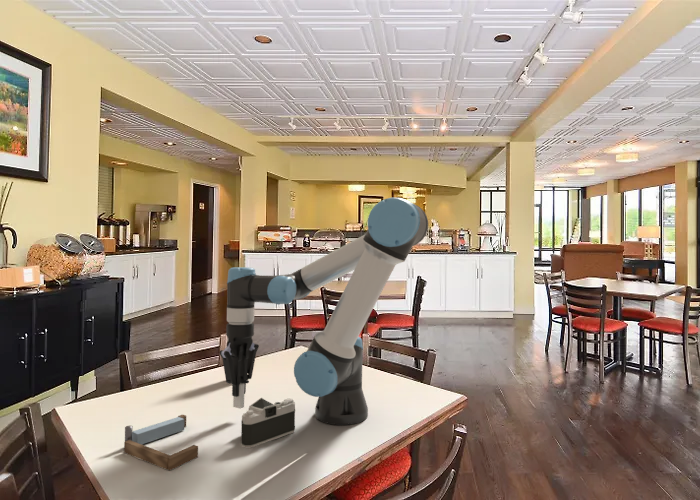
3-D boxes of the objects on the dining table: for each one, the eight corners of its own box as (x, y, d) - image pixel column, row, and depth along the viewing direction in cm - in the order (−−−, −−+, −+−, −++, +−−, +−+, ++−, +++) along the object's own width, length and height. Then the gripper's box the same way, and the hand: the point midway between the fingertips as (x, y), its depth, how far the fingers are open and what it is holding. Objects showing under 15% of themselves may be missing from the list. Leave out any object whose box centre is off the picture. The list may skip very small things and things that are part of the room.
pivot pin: (133, 447, 106) (133, 426, 106) (127, 450, 105) (127, 428, 105) (129, 445, 107) (129, 425, 107) (123, 448, 106) (123, 427, 106)
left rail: (197, 457, 102) (198, 446, 102) (169, 470, 95) (170, 458, 95) (193, 455, 102) (193, 444, 102) (165, 468, 96) (165, 457, 96)
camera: (280, 422, 123) (280, 386, 123) (300, 431, 117) (300, 393, 117) (229, 439, 112) (229, 399, 112) (249, 450, 106) (249, 408, 106)
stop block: (186, 426, 119) (186, 415, 119) (181, 428, 118) (181, 417, 118) (182, 425, 120) (182, 414, 120) (177, 427, 119) (178, 416, 119)
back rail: (171, 467, 97) (172, 455, 97) (167, 469, 96) (167, 458, 96) (129, 450, 105) (129, 439, 105) (124, 452, 103) (124, 441, 104)
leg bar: (137, 445, 106) (137, 434, 106) (131, 443, 108) (132, 431, 108) (184, 429, 116) (184, 419, 116) (178, 427, 118) (178, 416, 118)
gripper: (247, 318, 133) (245, 398, 132) (212, 324, 121) (211, 410, 121) (266, 321, 129) (264, 403, 128) (232, 326, 118) (230, 416, 117)
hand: (238, 406), depth 125 cm, fingers closed
